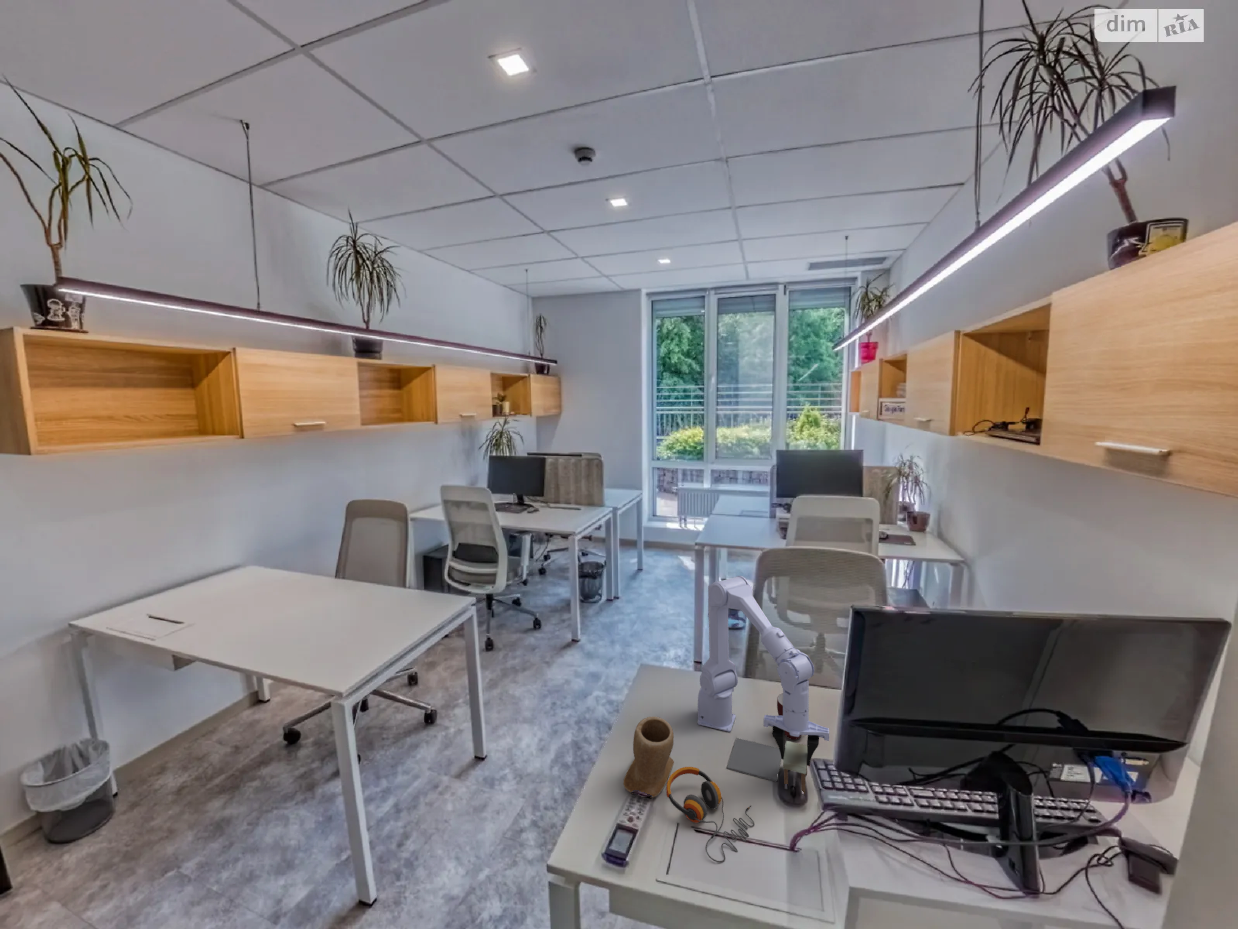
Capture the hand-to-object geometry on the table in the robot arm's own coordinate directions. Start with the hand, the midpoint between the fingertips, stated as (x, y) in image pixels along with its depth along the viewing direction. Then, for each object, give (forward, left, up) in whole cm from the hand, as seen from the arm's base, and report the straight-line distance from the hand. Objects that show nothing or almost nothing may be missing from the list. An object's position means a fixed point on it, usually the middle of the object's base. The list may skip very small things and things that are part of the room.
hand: (795, 760), depth 115 cm
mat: (-10, +4, -5) cm, 12 cm away
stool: (0, 0, -5) cm, 5 cm away
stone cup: (-32, -12, -6) cm, 35 cm away
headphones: (-17, -18, -6) cm, 25 cm away
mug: (-2, +16, -6) cm, 17 cm away
